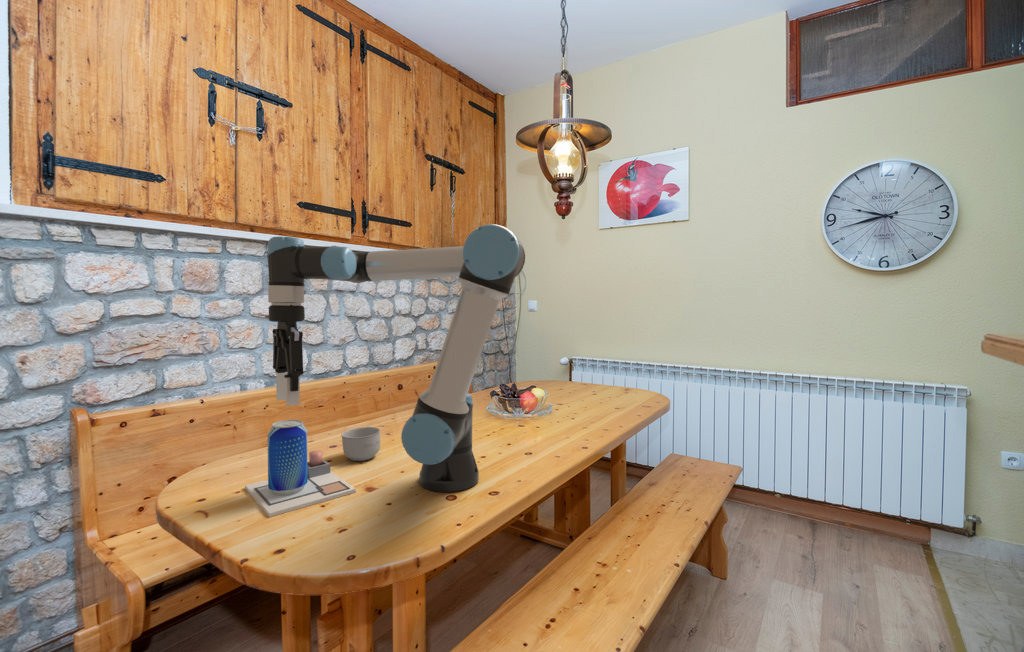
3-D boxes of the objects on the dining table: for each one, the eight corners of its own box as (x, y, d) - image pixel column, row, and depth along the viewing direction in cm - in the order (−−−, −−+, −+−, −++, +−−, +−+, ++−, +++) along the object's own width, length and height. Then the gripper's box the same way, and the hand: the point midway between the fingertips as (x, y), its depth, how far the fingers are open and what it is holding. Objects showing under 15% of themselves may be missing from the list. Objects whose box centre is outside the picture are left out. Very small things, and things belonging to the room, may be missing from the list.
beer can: (269, 499, 102) (268, 429, 101) (267, 486, 109) (266, 421, 109) (309, 492, 106) (308, 425, 105) (305, 479, 114) (305, 417, 113)
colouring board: (355, 492, 109) (355, 479, 109) (269, 517, 96) (269, 502, 96) (323, 469, 123) (323, 457, 123) (244, 488, 110) (244, 475, 110)
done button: (324, 463, 119) (324, 452, 118) (311, 466, 116) (311, 455, 116) (319, 460, 121) (319, 449, 121) (307, 463, 119) (307, 452, 119)
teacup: (368, 465, 127) (368, 437, 126) (333, 462, 129) (333, 434, 128) (391, 450, 140) (391, 424, 140) (359, 447, 142) (359, 422, 142)
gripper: (318, 305, 101) (319, 407, 102) (290, 304, 115) (291, 393, 116) (282, 304, 96) (284, 412, 97) (257, 303, 110) (258, 397, 111)
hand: (287, 402), depth 107 cm, fingers open, 6 cm apart
